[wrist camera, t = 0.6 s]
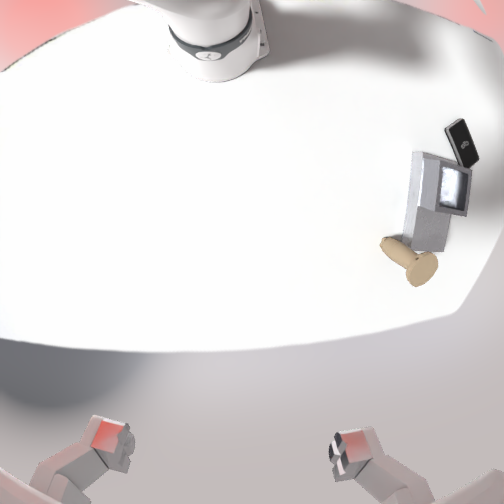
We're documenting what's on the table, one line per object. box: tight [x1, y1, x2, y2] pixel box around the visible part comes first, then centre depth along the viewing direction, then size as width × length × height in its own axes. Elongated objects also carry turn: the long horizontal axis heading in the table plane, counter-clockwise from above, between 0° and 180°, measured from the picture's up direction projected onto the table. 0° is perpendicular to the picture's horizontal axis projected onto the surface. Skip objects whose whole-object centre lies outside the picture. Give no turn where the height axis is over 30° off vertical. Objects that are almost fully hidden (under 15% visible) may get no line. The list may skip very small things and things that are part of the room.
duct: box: [401, 152, 472, 252], centre depth 46 cm, size 20×10×10 cm, turn 177°
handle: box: [380, 237, 438, 287], centre depth 47 cm, size 5×6×15 cm
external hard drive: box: [445, 119, 479, 169], centre depth 46 cm, size 7×11×2 cm, turn 35°
